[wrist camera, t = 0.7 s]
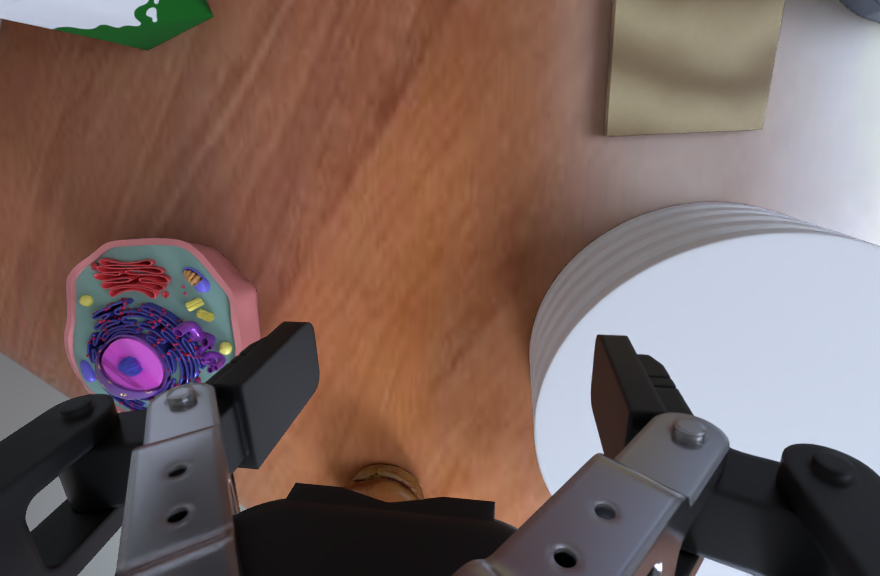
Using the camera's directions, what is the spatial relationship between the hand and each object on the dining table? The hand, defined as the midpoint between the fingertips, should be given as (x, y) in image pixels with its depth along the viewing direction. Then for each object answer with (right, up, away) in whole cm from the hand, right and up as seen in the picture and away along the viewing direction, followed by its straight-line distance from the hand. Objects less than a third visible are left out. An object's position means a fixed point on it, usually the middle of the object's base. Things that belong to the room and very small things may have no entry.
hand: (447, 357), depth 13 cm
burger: (-6, -22, +39) cm, 45 cm away
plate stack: (+22, -4, +29) cm, 37 cm away
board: (+18, +23, +20) cm, 35 cm away
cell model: (-24, 0, +35) cm, 42 cm away
